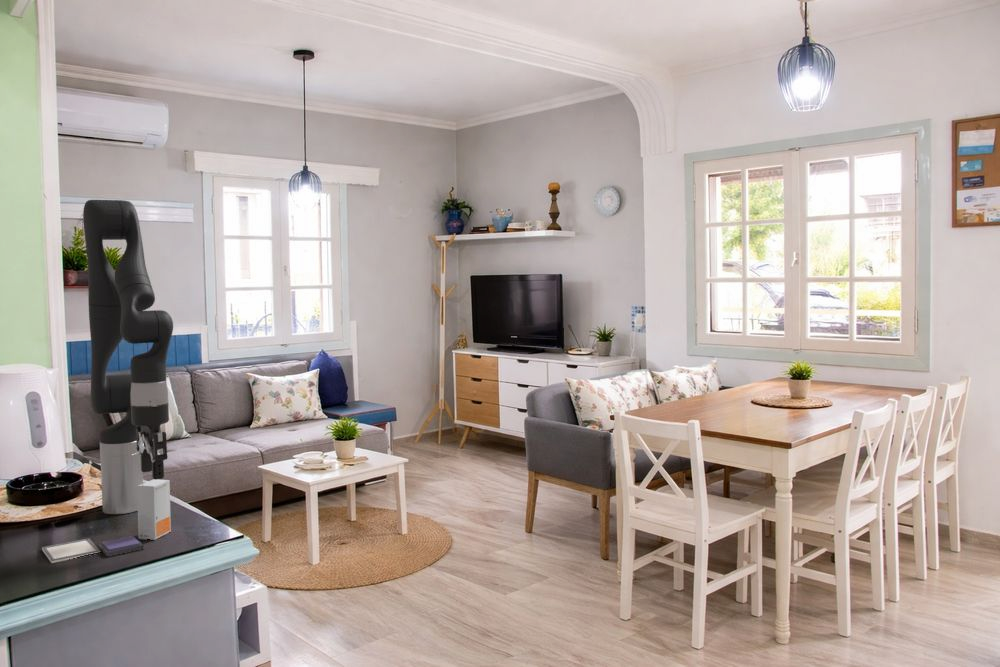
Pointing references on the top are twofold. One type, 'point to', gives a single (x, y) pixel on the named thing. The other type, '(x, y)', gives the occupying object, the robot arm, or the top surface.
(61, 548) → the framed whiteboard
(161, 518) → the skincare box
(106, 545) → the ink pad
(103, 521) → the top surface
